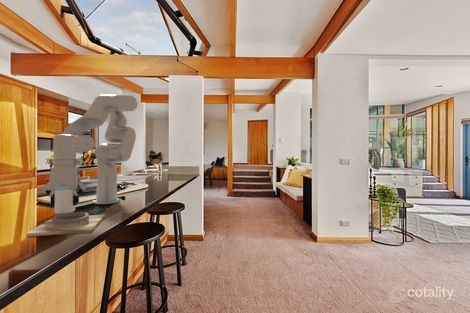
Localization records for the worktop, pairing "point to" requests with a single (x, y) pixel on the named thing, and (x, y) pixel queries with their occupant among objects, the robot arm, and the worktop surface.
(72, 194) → the can
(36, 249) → the worktop surface
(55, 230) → the base
